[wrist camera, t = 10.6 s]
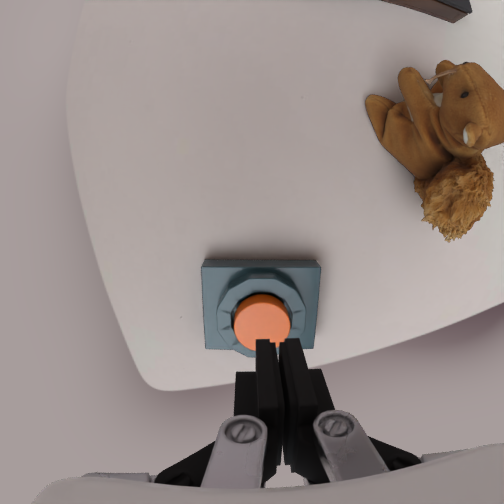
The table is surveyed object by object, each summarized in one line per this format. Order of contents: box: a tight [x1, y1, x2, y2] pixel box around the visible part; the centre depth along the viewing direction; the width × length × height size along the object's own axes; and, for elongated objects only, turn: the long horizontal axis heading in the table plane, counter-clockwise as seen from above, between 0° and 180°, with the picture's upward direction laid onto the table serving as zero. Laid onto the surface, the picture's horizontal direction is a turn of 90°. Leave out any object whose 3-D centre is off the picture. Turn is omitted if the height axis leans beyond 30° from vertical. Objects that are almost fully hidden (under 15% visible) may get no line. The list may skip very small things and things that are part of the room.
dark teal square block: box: [201, 259, 321, 357], centre depth 27 cm, size 10×8×4 cm
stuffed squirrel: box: [365, 60, 504, 242], centre depth 19 cm, size 10×14×13 cm
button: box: [234, 294, 290, 351], centre depth 25 cm, size 4×4×2 cm
